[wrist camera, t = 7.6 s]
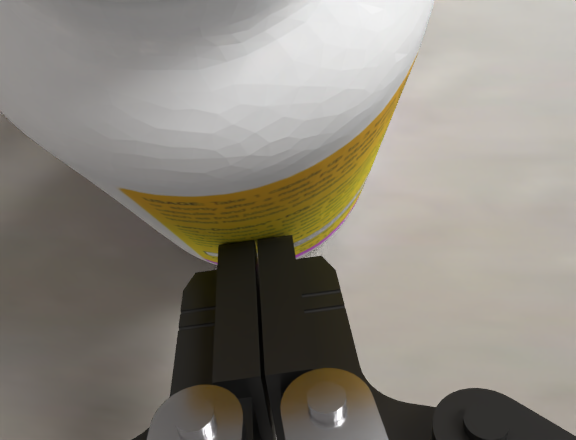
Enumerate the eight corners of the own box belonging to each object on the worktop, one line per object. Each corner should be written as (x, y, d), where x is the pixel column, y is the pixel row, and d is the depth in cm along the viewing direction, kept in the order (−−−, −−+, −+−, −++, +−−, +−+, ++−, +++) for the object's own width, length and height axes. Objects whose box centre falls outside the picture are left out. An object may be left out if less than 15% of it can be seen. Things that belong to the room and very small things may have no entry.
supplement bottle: (406, 141, 16) (764, -489, 4) (273, 319, 15) (166, 262, 3) (232, 22, 17) (58, -803, 5) (96, 183, 16) (-584, -320, 4)
